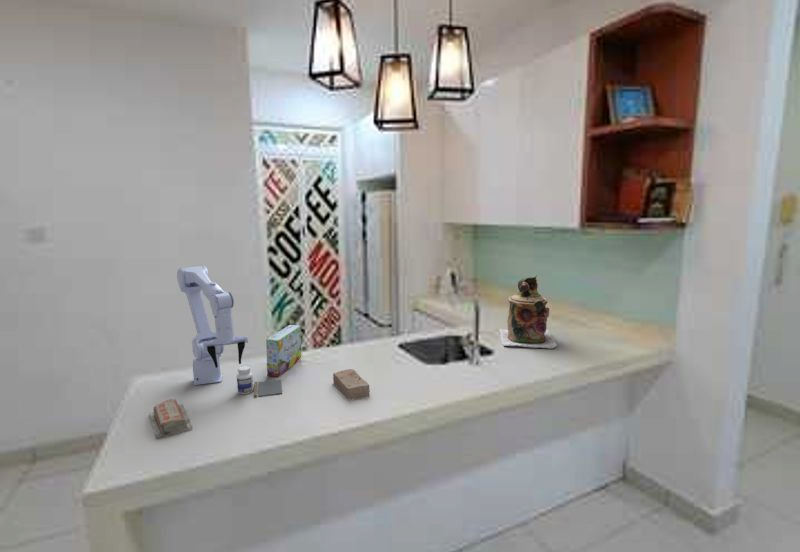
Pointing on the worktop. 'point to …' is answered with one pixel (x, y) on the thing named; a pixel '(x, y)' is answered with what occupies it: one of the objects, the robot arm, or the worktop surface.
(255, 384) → the walnut strip
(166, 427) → the packaged product
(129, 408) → the worktop surface
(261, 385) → the rubber mat
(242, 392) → the pill bottle
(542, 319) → the cookie jar
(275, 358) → the snack box
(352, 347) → the worktop surface
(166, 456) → the worktop surface
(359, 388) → the brick
